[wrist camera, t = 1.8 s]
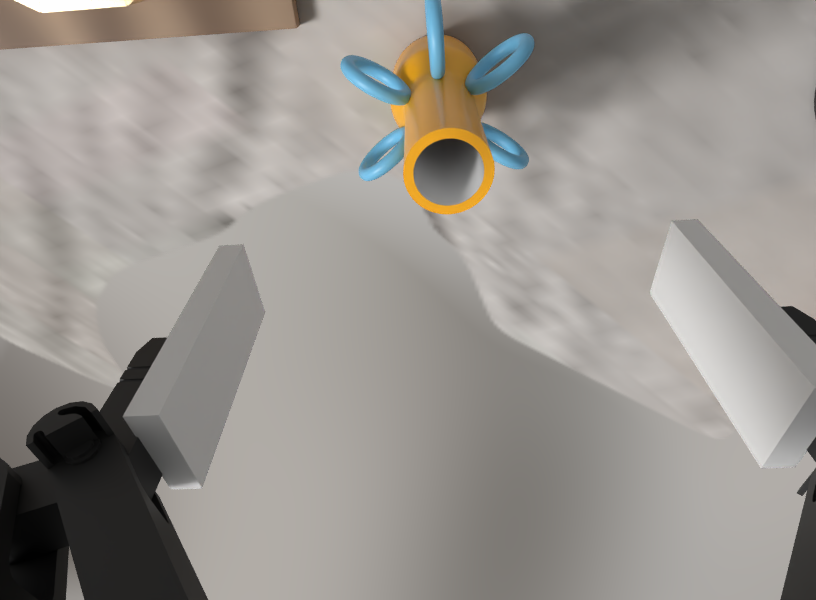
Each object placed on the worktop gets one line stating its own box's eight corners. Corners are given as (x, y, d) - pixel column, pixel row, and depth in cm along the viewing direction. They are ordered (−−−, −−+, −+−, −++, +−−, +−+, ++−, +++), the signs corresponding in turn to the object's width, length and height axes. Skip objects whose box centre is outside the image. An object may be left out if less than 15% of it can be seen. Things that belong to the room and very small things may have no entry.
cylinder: (342, -14, 30) (297, 32, 18) (514, -36, 29) (583, -3, 17) (373, 174, 38) (355, 293, 26) (510, 160, 37) (557, 276, 25)
